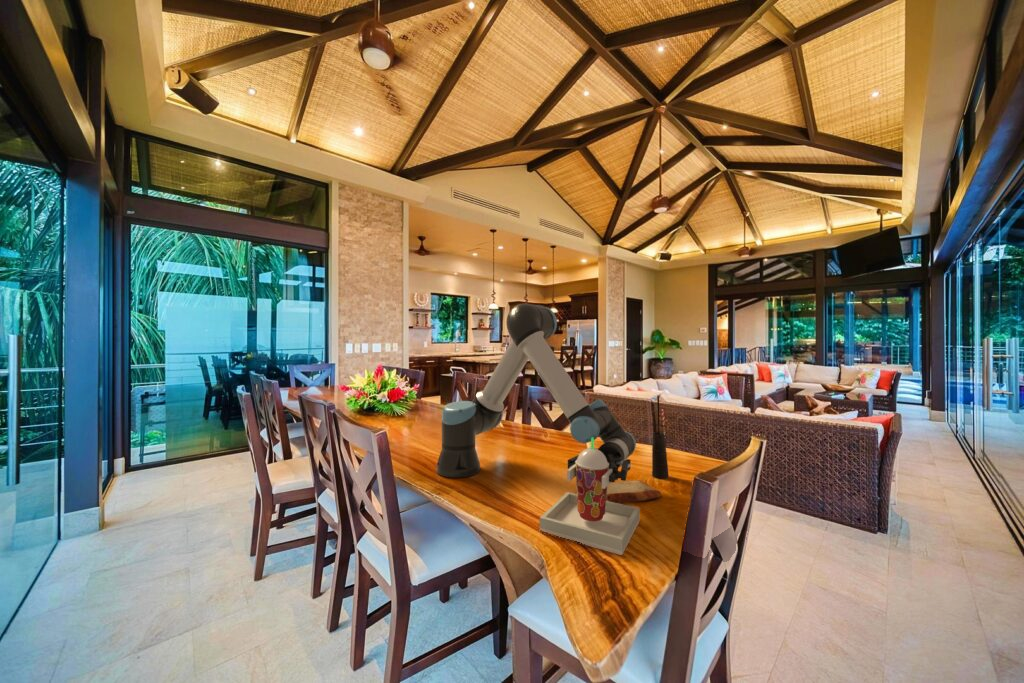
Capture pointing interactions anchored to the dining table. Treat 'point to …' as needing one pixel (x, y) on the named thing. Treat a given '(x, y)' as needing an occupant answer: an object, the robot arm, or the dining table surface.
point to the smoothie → (591, 483)
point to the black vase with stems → (659, 453)
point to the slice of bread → (630, 492)
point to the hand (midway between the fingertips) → (585, 479)
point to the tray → (592, 524)
